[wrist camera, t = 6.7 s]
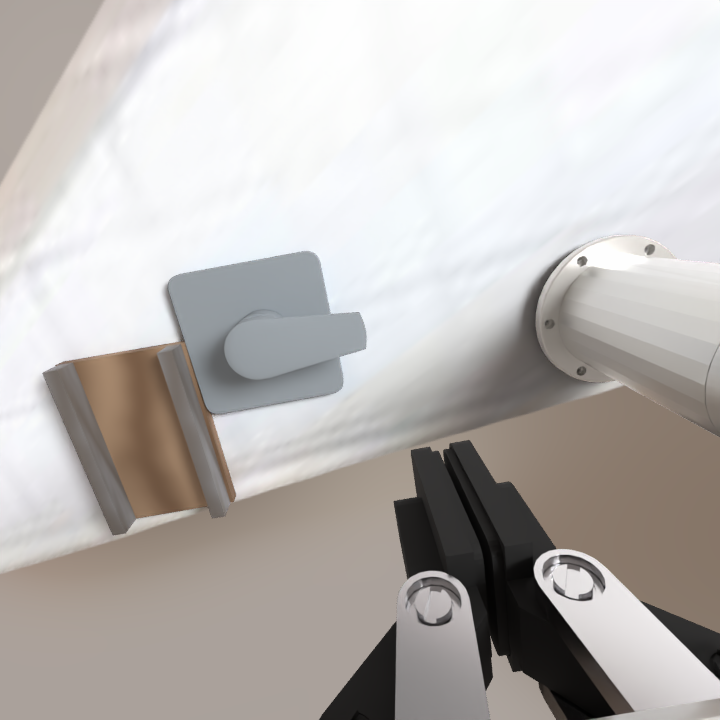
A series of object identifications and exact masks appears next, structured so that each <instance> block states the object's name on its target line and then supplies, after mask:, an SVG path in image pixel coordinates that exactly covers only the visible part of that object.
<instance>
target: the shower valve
mask: <svg viewBox="0 0 720 720" xmlns="http://www.w3.org/2000/svg"><path fill="white" fill-rule="evenodd" d="M168 291H169V294H170V297H171V300H172V303H173V306H174V310H175V313H176V316H177V319H178V322H179V325H180V328H181V331H182V334H183V338H184V341H185V344H186V347H187V350H188V353H189V356H190V359H191V362H192V365H193V369H194V372H195V375H196V378H197V381H198V384H199V387H200V390H201V393H202V397H203V400H204V403H205V405H206V407H207V409H208V410H209V411H210V412H211V413H214V414H223V413H229V412H234V411H240V410H245V409H251V408H256V407H262V406H267V405H272V404H278V403H283V402H289V401H294V400H300V399H305V398H311V397H316V396H322V395H327V394H333V393H336V392H338V391H339V390H341V388H342V386H343V373H342V368H341V363H340V358H339V357H341V356H344V355H347V354H351V353H354V352H357V351H361V350H364V349H366V330H365V326H364V322H363V319H362V317H361V315H360V313H359V312H353V313H339V314H330V309H329V304H328V299H327V294H326V289H325V284H324V279H323V274H322V269H321V264H320V260H319V258H318V257H317V255H316V254H315V253H313V252H310V251H302V252H297V253H292V254H286V255H281V256H275V257H270V258H264V259H259V260H254V261H248V262H243V263H237V264H232V265H227V266H221V267H216V268H210V269H205V270H200V271H194V272H189V273H183V274H179V275H176V276H174V277H172V278H171V279H170V280H169V283H168Z"/></svg>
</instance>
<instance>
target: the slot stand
mask: <svg viewBox="0 0 720 720" xmlns="http://www.w3.org/2000/svg"><path fill="white" fill-rule="evenodd" d="M55 366H56V367H53V368H51V369H49V370H47V371H45V372H43V375H44V378H45V380H46V382H47V385H48V387H49V389H50V392H51V394H52V396H53V398H54V401H55V403H56V405H57V408H58V410H59V412H60V415H61V417H62V419H63V422H64V424H65V426H66V428H67V431H68V433H69V435H70V438H71V440H72V442H73V445H74V447H75V449H76V452H77V454H78V456H79V458H80V461H81V463H82V465H83V468H84V470H85V472H86V475H87V477H88V479H89V481H90V484H91V486H92V488H93V491H94V493H95V495H96V498H97V500H98V502H99V505H100V507H101V509H102V511H103V514H104V516H105V518H106V521H107V523H108V525H109V528H110V530H111V532H112V535H118V534H124V533H126V532H127V531H128V529H129V528H130V526H131V525H132V524H133V522H134V521H135V519H136V518H142V517H147V516H153V515H159V514H165V513H171V512H177V511H183V510H189V509H194V508H200V507H206V506H208V508H209V511H210V514H211V517H212V518H218V517H224V516H225V515H226V512H227V510H228V507H229V505H230V502H234V500H235V497H236V493H235V490H234V487H233V484H232V480H231V477H230V474H229V470H228V467H227V464H226V461H225V457H224V454H223V451H222V448H221V444H220V441H219V438H218V435H217V431H216V428H215V425H214V422H213V418H212V415H211V412H210V411H209V410H208V409H207V407H206V405H205V403H204V400H203V397H202V393H201V390H200V387H199V384H198V381H197V378H196V375H195V372H194V369H193V365H192V362H191V359H190V356H189V353H188V350H187V347H186V344H185V341H181V342H175V343H169V344H164V345H158V346H152V347H146V348H140V349H135V350H129V351H123V352H117V353H111V354H105V355H100V356H94V357H88V358H82V359H76V360H71V361H65V362H62V363H59V364H57V365H55Z"/></svg>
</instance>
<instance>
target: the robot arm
mask: <svg viewBox="0 0 720 720" xmlns="http://www.w3.org/2000/svg"><path fill="white" fill-rule="evenodd" d="M577 259H579V261H578V263H577ZM546 321H547V323H546V324H545V322H546ZM536 332H537V337H538V341H539V343H540V346H541V348H542V351H543V352H544V354H545V355H546V356H547V358H548V359H549V361H550V362H551V363H553V364H554V365H555V366H556V367H557V368H558V369H560V370H561V371H563V372H564V373H566V374H567V375H569V376H571V377H574V378H576V379H578V380H583V381H588V382H610V381H618V382H620V383H621V384H623V385H625V386H627V387H629V388H631V389H633V390H634V391H636V392H638V393H640V394H641V395H644V396H645V397H647V398H649V399H651V400H653V401H654V402H656V403H658V404H660V405H662V406H663V407H665V408H667V409H669V410H671V411H672V412H674V413H676V414H678V415H680V416H682V417H683V418H685V419H687V420H689V421H691V422H693V423H694V424H696V425H698V426H700V427H702V428H704V429H705V430H707V431H709V432H711V433H713V434H715V435H716V436H718V437H720V263H712V262H701V261H690V260H679V259H677V258H676V257H675V256H674V255H673V254H672V253H671V251H670V250H669V249H668V248H666V247H665V246H663V245H662V244H660V243H659V242H657V241H655V240H652V239H649V238H647V237H643V236H636V235H613V236H607V237H602V238H599V239H596V240H594V241H591V242H588V243H586V244H585V245H583V246H581V247H580V248H578V249H576V250H574V251H573V252H572V253H571V254H570V255H568V256H567V257H566V258H565V259H564V260H562V262H561V263H560V264H559V265H558V266H557V267H556V269H555V270H554V271H553V272H552V274H551V275H550V277H549V278H548V280H547V282H546V283H545V285H544V287H543V290H542V292H541V295H540V297H539V300H538V305H537V310H536ZM443 453H444V462H445V464H444V462H443V460H442V458H441V455H440V453H439V451H434V452H432V451H431V448H430V447H426V448H420V449H414V450H411V457H412V465H413V471H414V479H415V486H416V493H417V497H415V498H409V499H403V500H397V501H394V507H395V513H396V519H397V525H398V531H399V537H400V543H401V548H402V553H403V559H404V564H405V569H406V573H407V579H408V580H407V581H406V582H405V583H404V584H403V585H402V587H401V589H400V591H399V594H398V599H397V621H396V622H395V623H394V625H393V626H392V627H391V628H390V630H389V631H388V632H387V633H386V635H385V636H384V637H383V638H382V640H381V641H380V642H379V644H378V645H377V646H376V647H375V649H374V650H373V651H372V652H371V654H370V655H369V656H368V657H367V659H366V660H365V661H364V662H363V664H362V665H361V666H360V667H359V669H358V670H357V671H356V673H355V674H354V675H353V676H352V678H351V679H350V680H349V681H348V683H347V684H346V685H345V686H344V688H343V689H342V690H341V692H340V693H339V694H338V695H337V697H336V698H335V699H334V700H333V702H332V703H331V704H330V705H329V707H328V708H327V709H326V710H325V712H324V713H323V714H322V716H321V718H320V719H319V720H490V714H489V709H488V703H487V697H486V690H487V688H488V686H489V684H490V682H491V680H492V678H493V674H492V663H491V657H492V651H491V639H492V641H493V644H494V647H495V649H496V651H497V654H498V655H499V656H503V655H506V656H507V658H508V660H509V663H510V666H511V668H512V671H513V672H517V671H523V673H525V674H526V675H528V676H530V677H531V678H533V679H535V680H536V681H538V682H539V688H540V690H541V693H542V695H543V698H544V699H545V701H546V703H547V705H548V706H549V708H550V710H551V712H552V713H553V715H554V717H555V718H556V720H720V634H719V633H717V632H715V631H712V630H710V629H707V628H705V627H703V626H700V625H697V624H695V623H693V622H691V621H688V620H686V619H683V618H681V617H678V616H676V615H674V614H671V613H669V612H666V611H664V610H662V609H659V608H657V607H654V606H652V605H649V604H647V603H645V602H642V601H640V600H638V599H637V598H636V597H635V596H634V595H633V594H632V593H631V592H630V591H629V590H628V589H627V588H626V587H625V586H624V585H623V584H622V583H621V582H620V581H619V580H618V579H617V578H616V577H615V576H614V575H613V574H612V573H611V572H610V571H609V570H608V569H607V568H606V567H605V566H604V565H602V564H601V563H600V562H598V561H597V560H596V559H595V558H593V557H591V556H589V555H587V554H585V553H582V552H578V551H574V550H568V549H556V547H555V546H554V545H553V543H552V541H551V540H550V538H549V537H548V536H547V534H546V533H545V531H544V530H543V528H542V527H541V526H540V524H539V522H538V521H537V519H536V518H535V517H534V515H533V513H532V512H531V510H530V509H529V508H528V506H527V505H526V503H525V502H524V500H523V499H522V497H521V496H520V494H519V493H518V491H517V490H516V488H515V487H514V485H513V484H512V483H511V482H504V483H497V484H496V482H495V481H494V479H493V477H492V476H491V474H490V473H489V471H488V469H487V468H486V466H485V464H484V463H483V461H482V460H481V458H480V456H479V455H478V453H477V451H476V450H475V448H474V446H473V445H472V443H471V442H470V441H469V440H467V441H462V442H455V443H450V447H449V449H445V450H444V451H443ZM490 636H491V639H490Z"/></svg>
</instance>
